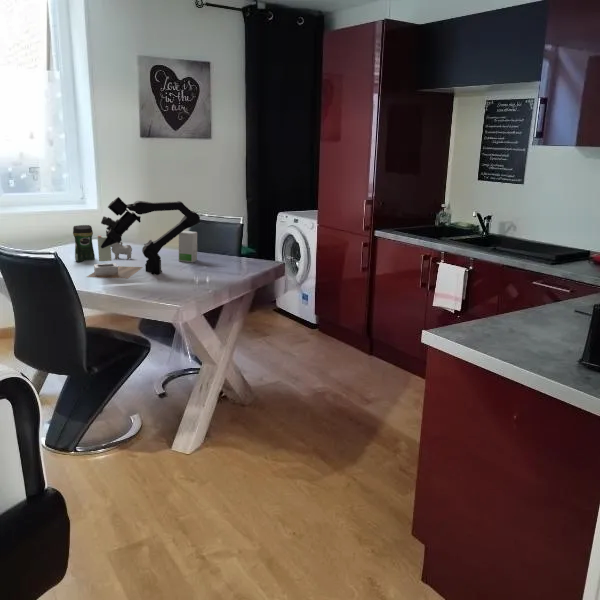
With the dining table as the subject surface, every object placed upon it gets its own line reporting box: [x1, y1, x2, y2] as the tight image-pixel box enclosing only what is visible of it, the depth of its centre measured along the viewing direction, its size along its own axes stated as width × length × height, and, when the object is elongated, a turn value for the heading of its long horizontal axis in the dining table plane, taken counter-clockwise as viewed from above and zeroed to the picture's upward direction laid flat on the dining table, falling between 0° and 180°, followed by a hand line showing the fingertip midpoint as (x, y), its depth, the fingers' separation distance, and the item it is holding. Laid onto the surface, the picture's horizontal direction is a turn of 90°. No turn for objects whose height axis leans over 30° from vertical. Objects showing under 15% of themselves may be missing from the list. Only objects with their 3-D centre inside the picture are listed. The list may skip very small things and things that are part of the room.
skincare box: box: [178, 230, 198, 263], centre depth 305 cm, size 8×7×16 cm
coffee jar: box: [72, 224, 96, 263], centre depth 296 cm, size 10×8×19 cm
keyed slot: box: [93, 262, 118, 276], centre depth 268 cm, size 10×8×4 cm
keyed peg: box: [97, 234, 112, 262], centre depth 266 cm, size 5×3×12 cm, turn 110°
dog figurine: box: [111, 241, 133, 261], centre depth 305 cm, size 5×13×11 cm, turn 91°
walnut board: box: [86, 265, 144, 279], centre depth 273 cm, size 19×24×1 cm
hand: (101, 247), depth 265 cm, fingers closed on keyed peg, 3 cm apart
